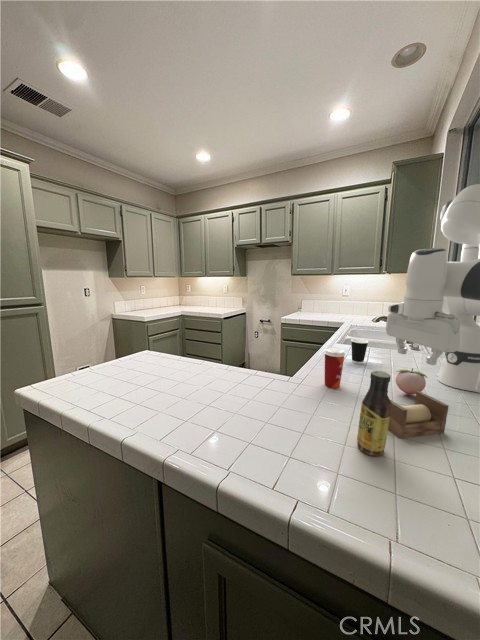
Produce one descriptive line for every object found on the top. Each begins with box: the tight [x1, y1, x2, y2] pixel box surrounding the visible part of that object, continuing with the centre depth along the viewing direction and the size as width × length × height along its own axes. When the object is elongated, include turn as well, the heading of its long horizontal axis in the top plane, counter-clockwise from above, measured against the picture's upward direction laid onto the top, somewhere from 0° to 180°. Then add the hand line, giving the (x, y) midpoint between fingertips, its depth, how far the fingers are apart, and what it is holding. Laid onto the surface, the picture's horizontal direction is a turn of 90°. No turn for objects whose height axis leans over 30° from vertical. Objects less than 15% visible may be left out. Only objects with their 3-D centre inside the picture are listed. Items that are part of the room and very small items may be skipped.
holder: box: [388, 391, 449, 440], centre depth 75 cm, size 14×9×8 cm, turn 102°
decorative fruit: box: [395, 368, 428, 396], centre depth 95 cm, size 9×8×10 cm
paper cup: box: [323, 347, 346, 389], centre depth 102 cm, size 8×8×14 cm
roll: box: [402, 404, 431, 425], centre depth 75 cm, size 9×5×5 cm, turn 102°
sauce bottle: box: [356, 370, 391, 457], centre depth 63 cm, size 7×6×20 cm
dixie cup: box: [350, 338, 369, 365], centre depth 130 cm, size 8×8×11 cm
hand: (415, 358), depth 74 cm, fingers open, 8 cm apart
